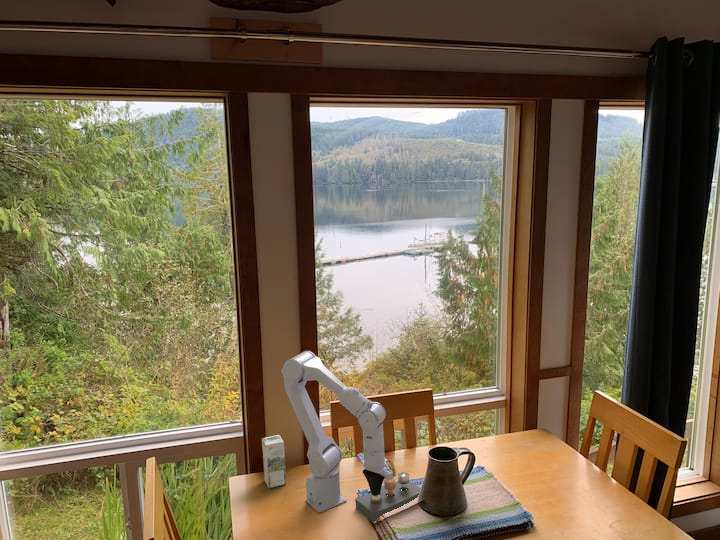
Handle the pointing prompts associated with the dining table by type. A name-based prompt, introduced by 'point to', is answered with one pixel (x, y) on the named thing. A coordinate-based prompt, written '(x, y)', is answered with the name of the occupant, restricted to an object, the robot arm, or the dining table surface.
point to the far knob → (403, 480)
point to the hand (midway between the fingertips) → (375, 494)
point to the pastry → (391, 466)
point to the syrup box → (274, 461)
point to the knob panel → (386, 501)
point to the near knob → (376, 498)
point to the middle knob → (390, 486)
